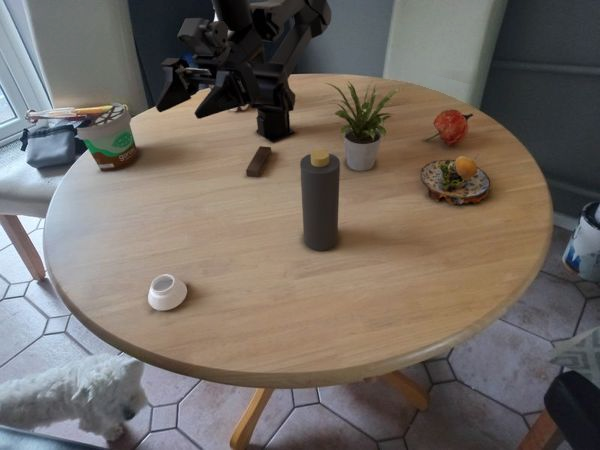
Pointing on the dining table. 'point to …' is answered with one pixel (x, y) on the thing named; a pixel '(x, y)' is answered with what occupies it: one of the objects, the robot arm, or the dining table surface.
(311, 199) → the grey bottle yellow cap
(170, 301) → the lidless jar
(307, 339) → the dining table surface
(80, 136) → the food container
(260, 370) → the dining table surface
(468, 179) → the multicoloured piece
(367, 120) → the house plant
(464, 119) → the pomegranate
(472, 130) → the dining table surface
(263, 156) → the walnut stick
